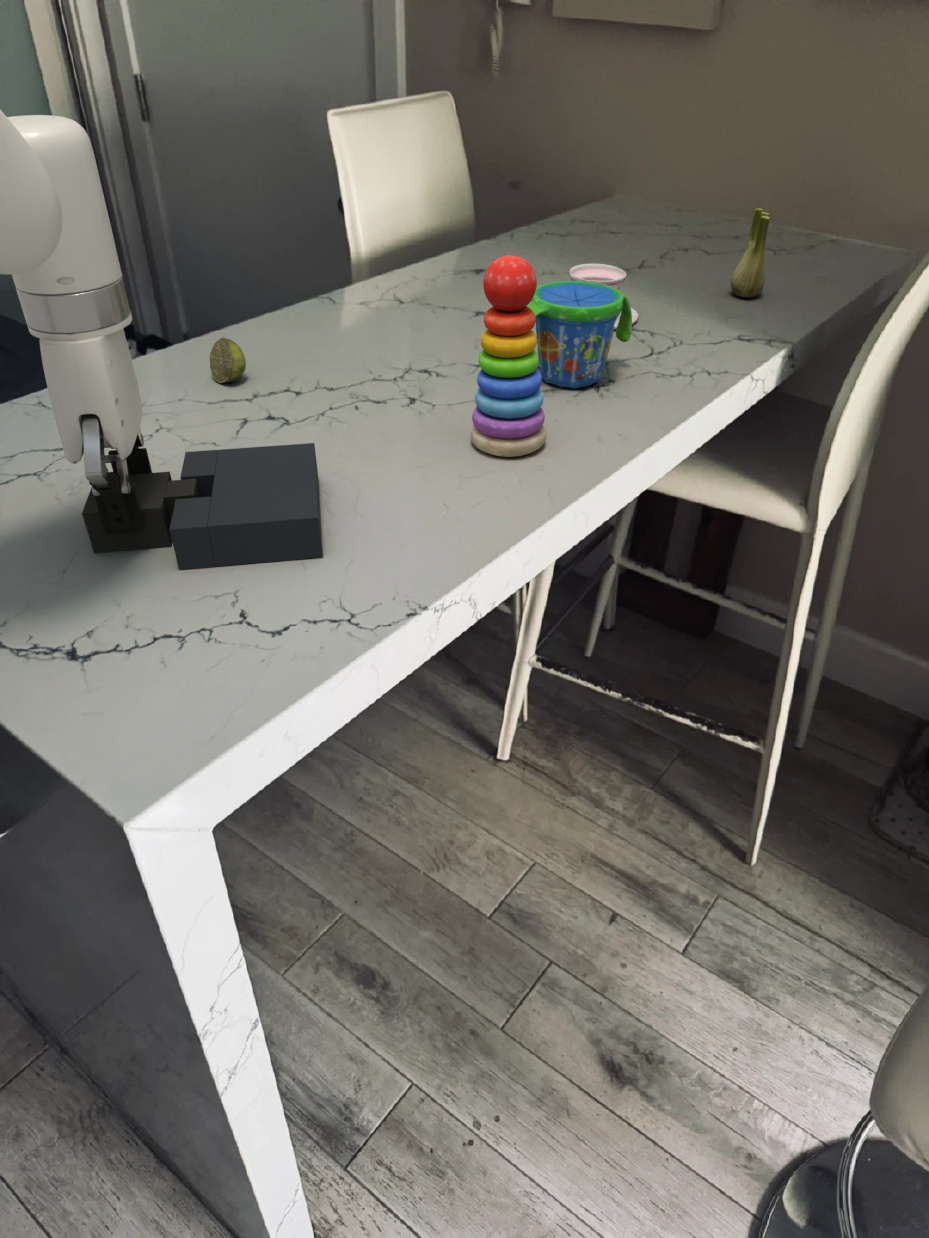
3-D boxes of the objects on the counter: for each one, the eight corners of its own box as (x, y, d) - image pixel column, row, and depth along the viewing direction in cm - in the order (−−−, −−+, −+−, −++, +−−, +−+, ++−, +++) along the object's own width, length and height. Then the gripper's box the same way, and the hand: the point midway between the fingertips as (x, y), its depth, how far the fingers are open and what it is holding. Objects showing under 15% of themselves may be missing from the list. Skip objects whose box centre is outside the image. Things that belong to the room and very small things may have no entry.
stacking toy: (554, 432, 94) (566, 250, 83) (534, 465, 88) (544, 273, 77) (484, 422, 96) (486, 243, 85) (460, 453, 90) (459, 265, 79)
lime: (240, 388, 103) (234, 347, 100) (202, 385, 104) (195, 344, 101) (255, 374, 107) (249, 334, 104) (218, 371, 108) (211, 331, 105)
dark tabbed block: (93, 553, 75) (81, 513, 73) (106, 515, 80) (95, 476, 78) (200, 544, 76) (191, 505, 74) (206, 507, 82) (198, 469, 79)
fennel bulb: (755, 303, 128) (773, 216, 121) (723, 298, 130) (738, 212, 123) (766, 293, 132) (784, 208, 125) (734, 288, 134) (750, 204, 127)
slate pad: (178, 570, 73) (169, 529, 71) (193, 489, 84) (185, 451, 82) (322, 557, 75) (318, 517, 72) (318, 480, 86) (314, 442, 83)
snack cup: (604, 354, 112) (612, 272, 106) (649, 384, 105) (661, 297, 98) (494, 372, 107) (496, 288, 101) (533, 405, 100) (537, 316, 94)
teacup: (541, 307, 127) (544, 263, 123) (618, 301, 129) (623, 257, 126) (569, 335, 118) (572, 288, 114) (651, 328, 120) (657, 282, 116)
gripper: (49, 273, 72) (104, 467, 83) (-7, 349, 59) (68, 569, 70) (142, 269, 73) (184, 461, 84) (109, 342, 60) (164, 560, 71)
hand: (131, 508), depth 77 cm, fingers closed on dark tabbed block, 6 cm apart
